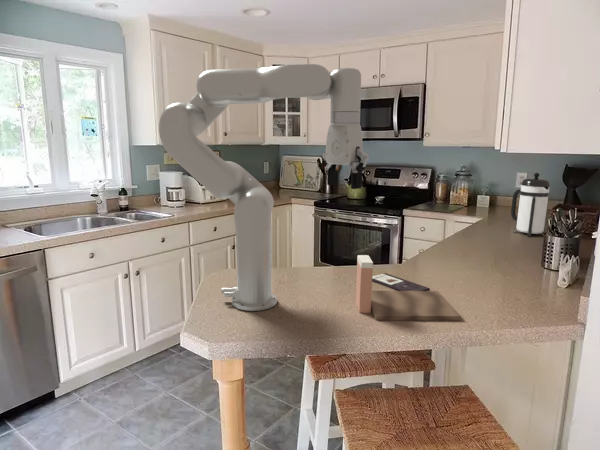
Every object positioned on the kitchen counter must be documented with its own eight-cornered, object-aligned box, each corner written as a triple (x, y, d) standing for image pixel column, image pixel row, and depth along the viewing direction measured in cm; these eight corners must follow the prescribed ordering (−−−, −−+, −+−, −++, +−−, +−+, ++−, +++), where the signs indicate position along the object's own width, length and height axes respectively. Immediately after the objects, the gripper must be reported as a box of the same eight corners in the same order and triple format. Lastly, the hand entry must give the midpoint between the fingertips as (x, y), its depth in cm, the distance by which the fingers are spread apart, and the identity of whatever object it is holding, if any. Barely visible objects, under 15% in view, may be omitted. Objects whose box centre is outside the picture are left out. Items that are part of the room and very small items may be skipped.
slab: (359, 312, 114) (361, 262, 111) (355, 302, 121) (357, 255, 118) (370, 312, 114) (373, 262, 112) (366, 302, 121) (368, 255, 118)
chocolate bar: (411, 294, 127) (366, 277, 141) (410, 297, 127) (366, 280, 141) (429, 288, 132) (385, 273, 146) (429, 291, 132) (385, 275, 146)
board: (375, 319, 110) (375, 315, 110) (364, 294, 128) (364, 290, 127) (460, 320, 110) (461, 316, 110) (437, 294, 128) (437, 291, 128)
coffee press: (547, 232, 214) (555, 172, 207) (545, 239, 200) (554, 174, 194) (509, 228, 223) (516, 170, 216) (505, 234, 209) (512, 172, 203)
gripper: (313, 120, 114) (313, 184, 118) (357, 118, 100) (355, 191, 104) (335, 121, 118) (334, 182, 122) (380, 119, 104) (377, 189, 108)
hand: (343, 186), depth 113 cm, fingers open, 9 cm apart
